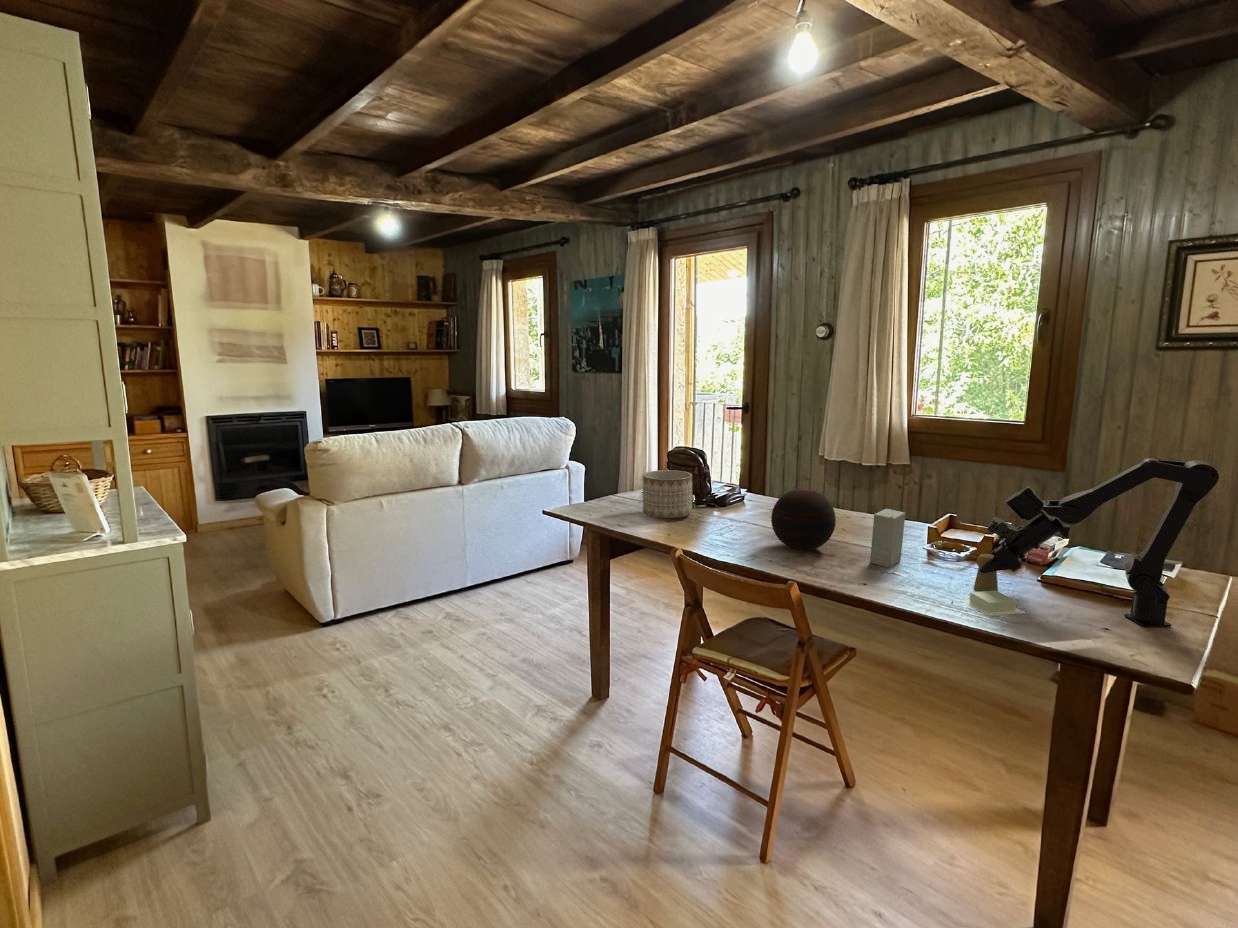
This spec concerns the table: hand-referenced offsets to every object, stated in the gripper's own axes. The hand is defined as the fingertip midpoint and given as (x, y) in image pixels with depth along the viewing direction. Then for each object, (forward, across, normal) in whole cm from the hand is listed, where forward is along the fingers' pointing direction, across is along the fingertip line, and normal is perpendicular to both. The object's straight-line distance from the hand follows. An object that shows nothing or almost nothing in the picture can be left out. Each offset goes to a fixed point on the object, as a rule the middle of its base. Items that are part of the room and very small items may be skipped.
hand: (981, 568), depth 174 cm
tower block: (+2, +12, +6) cm, 13 cm away
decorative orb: (+42, -17, -32) cm, 55 cm away
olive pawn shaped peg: (+4, 0, +6) cm, 7 cm away
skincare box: (+24, -15, -13) cm, 31 cm away
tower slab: (+3, +12, +7) cm, 14 cm away
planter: (+84, -35, -73) cm, 116 cm away
